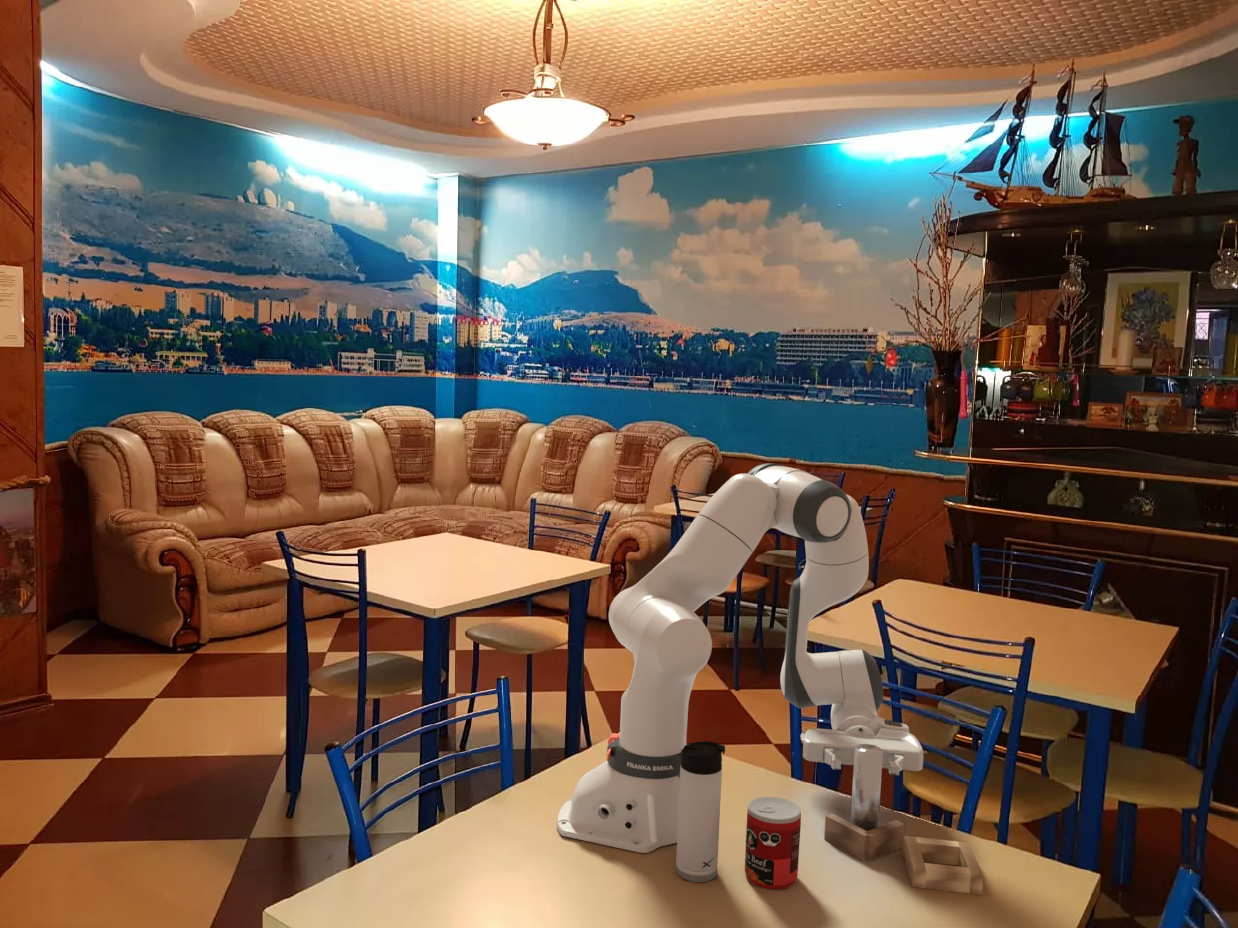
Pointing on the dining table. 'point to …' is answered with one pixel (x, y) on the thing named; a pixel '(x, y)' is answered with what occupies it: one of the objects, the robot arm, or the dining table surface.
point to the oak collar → (942, 876)
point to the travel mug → (699, 811)
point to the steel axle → (866, 786)
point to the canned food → (772, 842)
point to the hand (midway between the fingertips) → (865, 767)
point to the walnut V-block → (864, 837)
